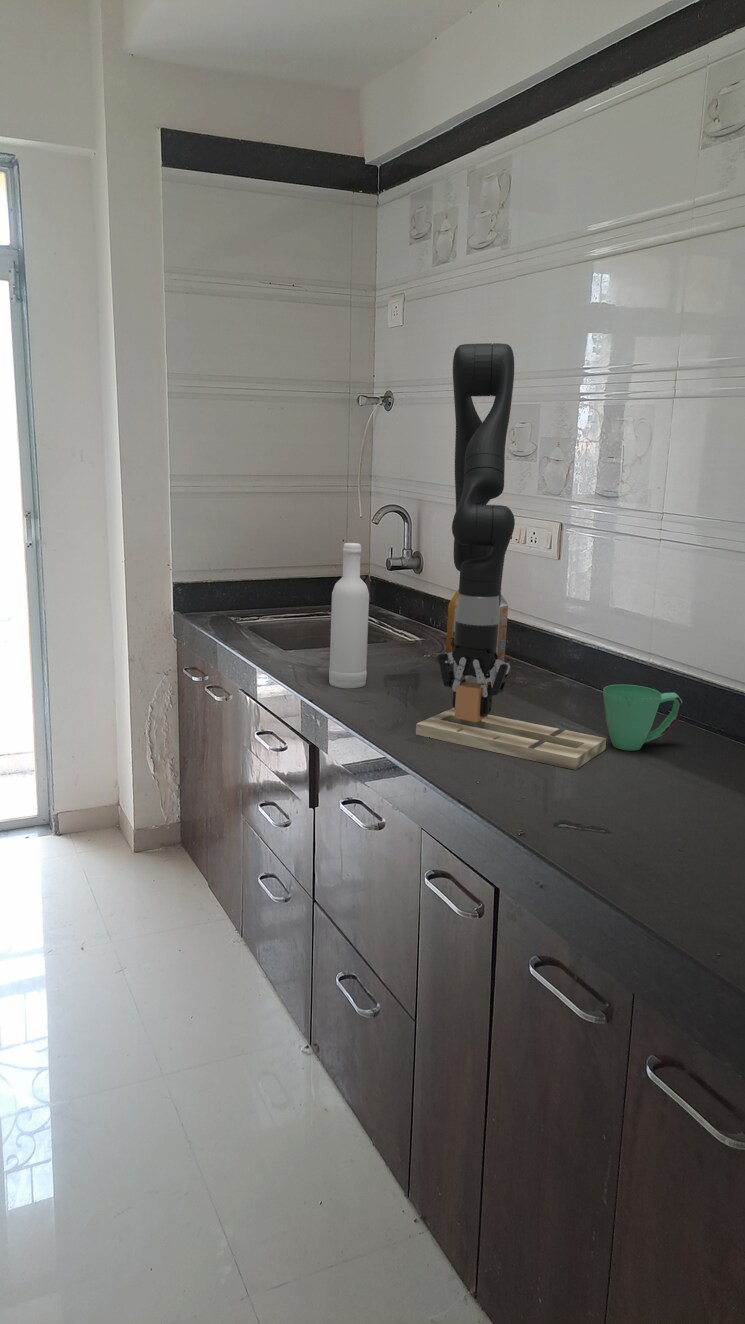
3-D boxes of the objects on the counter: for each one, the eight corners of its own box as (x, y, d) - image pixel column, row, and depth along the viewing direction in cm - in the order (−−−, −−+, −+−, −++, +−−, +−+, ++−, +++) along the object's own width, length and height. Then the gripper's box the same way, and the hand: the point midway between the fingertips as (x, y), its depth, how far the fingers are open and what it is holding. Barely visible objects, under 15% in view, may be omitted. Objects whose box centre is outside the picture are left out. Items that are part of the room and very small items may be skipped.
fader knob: (465, 726, 174) (467, 680, 172) (486, 731, 172) (489, 684, 170) (453, 732, 171) (456, 685, 169) (475, 736, 168) (478, 689, 166)
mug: (615, 756, 161) (620, 699, 159) (588, 739, 171) (593, 685, 168) (691, 752, 165) (697, 697, 163) (661, 735, 174) (666, 683, 172)
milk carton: (504, 662, 230) (509, 584, 226) (485, 670, 222) (490, 589, 217) (465, 656, 236) (469, 580, 232) (445, 663, 227) (449, 584, 223)
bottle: (344, 690, 198) (349, 546, 191) (321, 682, 204) (325, 542, 197) (373, 685, 203) (379, 544, 196) (349, 678, 209) (354, 541, 202)
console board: (453, 717, 181) (453, 707, 180) (605, 749, 165) (606, 737, 165) (415, 734, 169) (416, 723, 169) (575, 770, 154) (576, 757, 153)
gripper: (523, 622, 166) (516, 716, 170) (451, 612, 174) (446, 702, 177) (505, 628, 160) (498, 725, 164) (431, 617, 167) (426, 710, 171)
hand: (471, 713), depth 170 cm, fingers closed on fader knob, 4 cm apart
